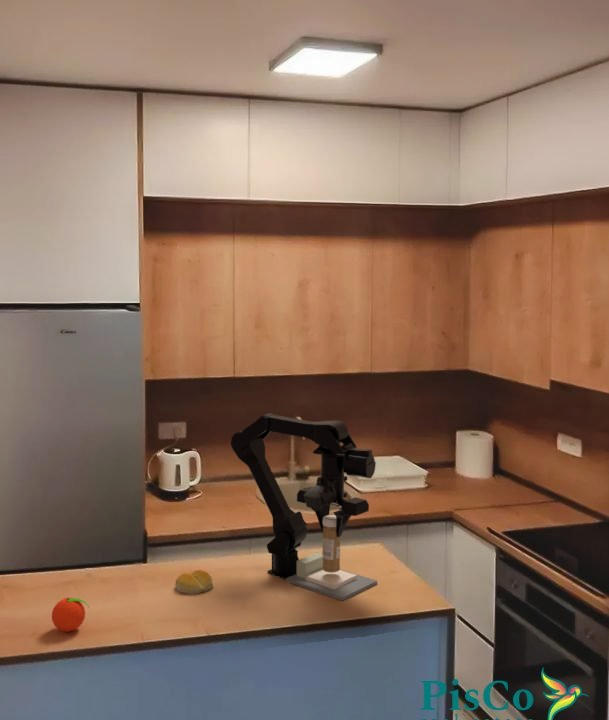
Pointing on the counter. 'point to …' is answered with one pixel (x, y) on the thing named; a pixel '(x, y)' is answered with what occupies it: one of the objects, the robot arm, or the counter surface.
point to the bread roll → (194, 582)
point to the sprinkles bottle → (330, 545)
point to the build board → (328, 579)
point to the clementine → (68, 614)
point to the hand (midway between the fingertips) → (331, 534)
